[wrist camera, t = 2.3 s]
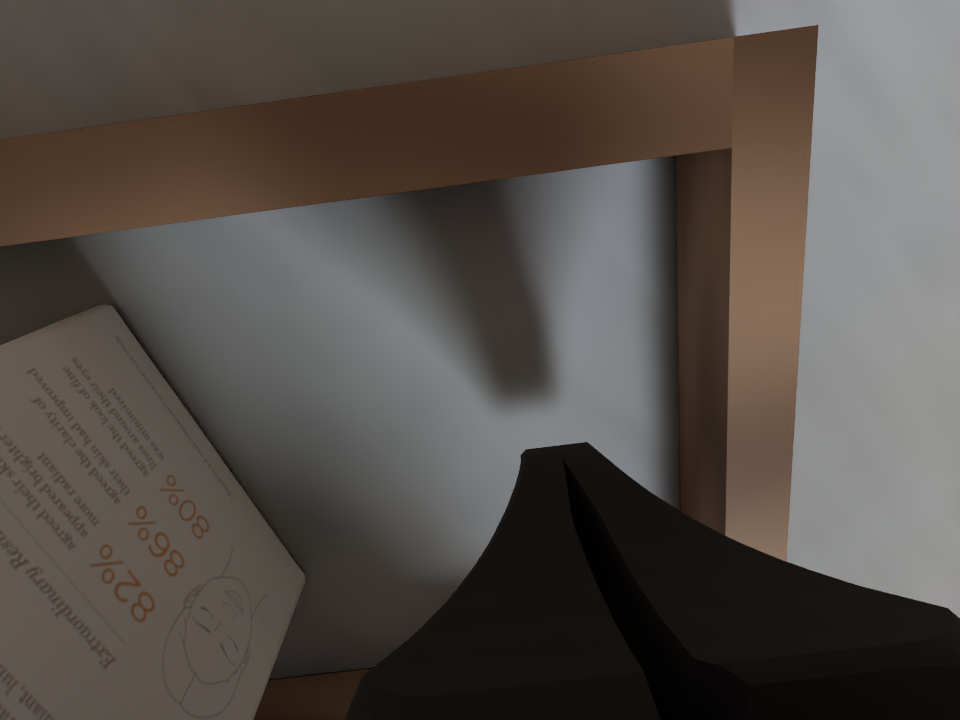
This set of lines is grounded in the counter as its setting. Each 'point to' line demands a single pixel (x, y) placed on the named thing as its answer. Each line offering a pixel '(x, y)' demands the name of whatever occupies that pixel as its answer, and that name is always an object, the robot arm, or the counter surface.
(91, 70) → the counter surface
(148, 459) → the small box
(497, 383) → the counter surface
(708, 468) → the open wooden frame
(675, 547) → the robot arm
